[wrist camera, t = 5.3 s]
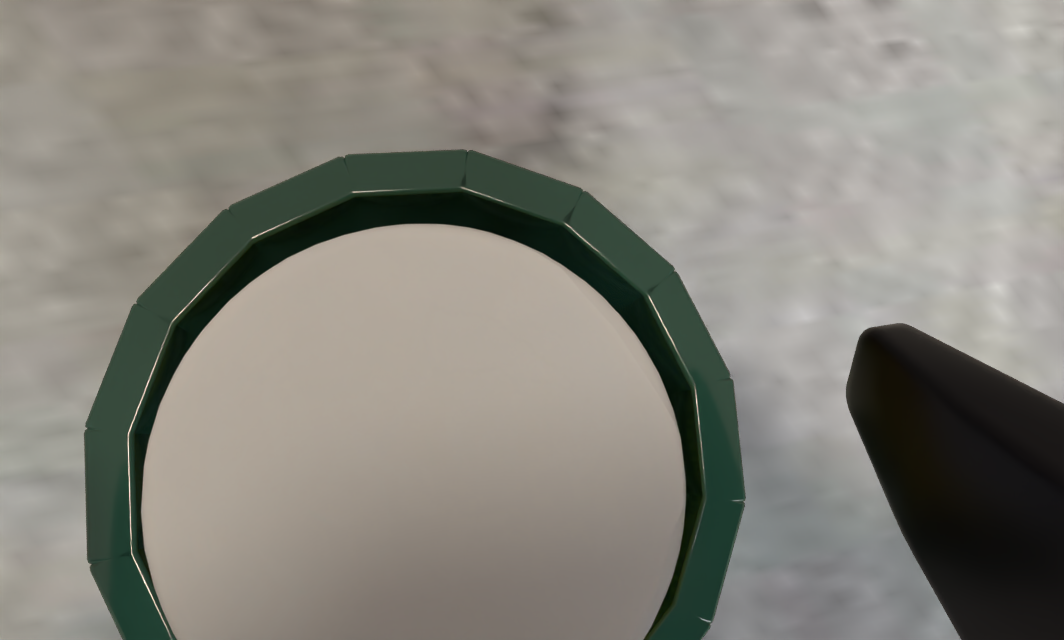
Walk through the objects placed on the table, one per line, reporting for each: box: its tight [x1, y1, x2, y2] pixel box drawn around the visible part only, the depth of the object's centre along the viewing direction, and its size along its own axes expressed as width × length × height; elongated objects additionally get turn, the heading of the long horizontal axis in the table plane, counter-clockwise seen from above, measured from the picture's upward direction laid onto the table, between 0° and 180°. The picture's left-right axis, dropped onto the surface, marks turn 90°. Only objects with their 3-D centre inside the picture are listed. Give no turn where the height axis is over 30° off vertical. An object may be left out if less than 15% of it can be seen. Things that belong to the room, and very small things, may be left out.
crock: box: [84, 149, 746, 640], centre depth 14 cm, size 8×8×5 cm
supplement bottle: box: [141, 224, 686, 640], centre depth 11 cm, size 5×5×10 cm
